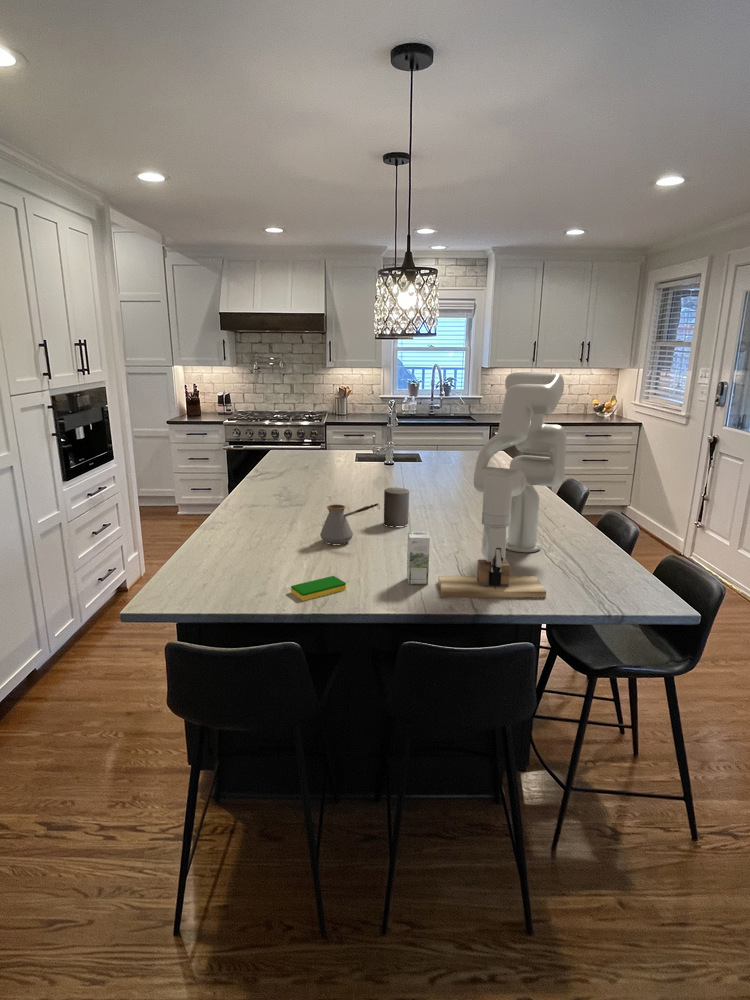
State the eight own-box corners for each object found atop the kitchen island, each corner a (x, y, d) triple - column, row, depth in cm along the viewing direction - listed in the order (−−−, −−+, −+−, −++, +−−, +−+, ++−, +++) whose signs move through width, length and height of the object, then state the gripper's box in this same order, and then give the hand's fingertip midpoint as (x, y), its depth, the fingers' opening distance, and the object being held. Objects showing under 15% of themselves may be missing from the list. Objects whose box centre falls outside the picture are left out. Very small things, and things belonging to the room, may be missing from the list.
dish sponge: (290, 593, 160) (290, 585, 159) (333, 583, 167) (333, 575, 167) (302, 602, 154) (302, 593, 153) (346, 590, 161) (346, 582, 161)
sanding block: (476, 579, 163) (477, 559, 162) (505, 579, 163) (506, 559, 162) (479, 585, 159) (480, 565, 157) (508, 585, 159) (509, 565, 157)
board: (438, 582, 167) (438, 575, 166) (534, 582, 167) (535, 576, 166) (442, 597, 156) (442, 591, 156) (545, 597, 156) (546, 591, 156)
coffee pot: (315, 545, 198) (314, 503, 195) (326, 536, 209) (325, 495, 205) (375, 550, 193) (375, 507, 190) (383, 540, 204) (383, 499, 200)
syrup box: (426, 577, 170) (427, 530, 167) (428, 585, 164) (429, 536, 161) (406, 577, 170) (407, 530, 166) (408, 585, 164) (409, 537, 161)
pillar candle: (379, 525, 222) (379, 487, 218) (390, 519, 230) (391, 482, 226) (402, 529, 217) (403, 491, 213) (412, 523, 226) (413, 485, 222)
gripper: (477, 510, 165) (474, 570, 169) (487, 527, 148) (484, 593, 153) (503, 510, 165) (499, 570, 169) (517, 528, 148) (512, 593, 153)
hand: (492, 580), depth 161 cm, fingers closed on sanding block, 4 cm apart
